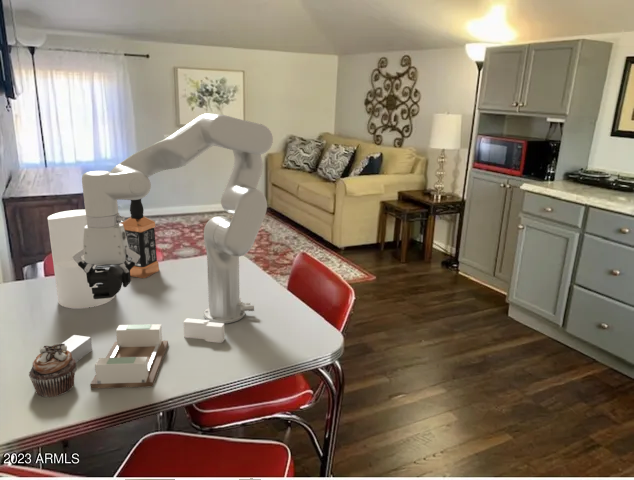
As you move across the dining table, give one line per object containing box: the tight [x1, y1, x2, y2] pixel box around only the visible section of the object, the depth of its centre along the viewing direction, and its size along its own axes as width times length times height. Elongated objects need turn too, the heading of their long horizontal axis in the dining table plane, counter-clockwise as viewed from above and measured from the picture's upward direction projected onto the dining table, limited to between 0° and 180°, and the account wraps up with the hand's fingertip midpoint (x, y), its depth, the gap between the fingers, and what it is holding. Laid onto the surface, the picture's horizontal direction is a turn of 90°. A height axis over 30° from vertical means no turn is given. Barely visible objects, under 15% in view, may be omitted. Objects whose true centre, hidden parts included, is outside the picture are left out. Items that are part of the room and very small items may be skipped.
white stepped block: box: [182, 317, 226, 344], centre depth 137 cm, size 15×11×6 cm
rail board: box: [89, 340, 169, 389], centre depth 123 cm, size 14×20×1 cm
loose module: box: [61, 334, 93, 363], centre depth 126 cm, size 5×8×4 cm, turn 168°
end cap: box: [90, 265, 123, 299], centre depth 127 cm, size 10×7×7 cm
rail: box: [97, 344, 160, 384], centre depth 123 cm, size 11×20×1 cm, turn 6°
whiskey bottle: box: [119, 199, 160, 279], centre depth 180 cm, size 10×10×32 cm
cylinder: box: [46, 208, 116, 309], centre depth 158 cm, size 17×17×28 cm
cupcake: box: [28, 343, 77, 398], centre depth 112 cm, size 10×10×10 cm
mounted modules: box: [94, 323, 163, 384], centre depth 123 cm, size 11×20×5 cm, turn 6°
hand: (109, 284), depth 127 cm, fingers closed on end cap, 8 cm apart
